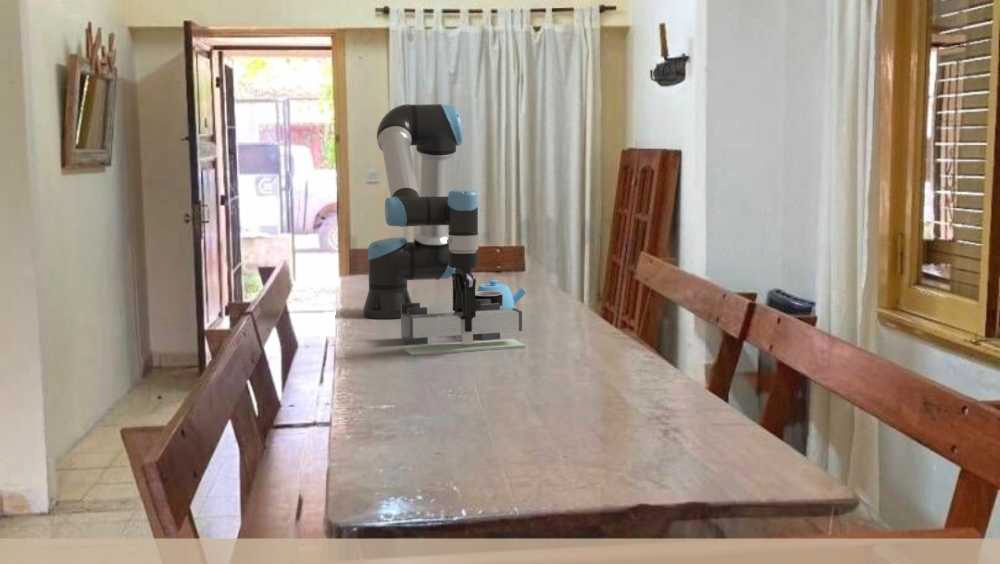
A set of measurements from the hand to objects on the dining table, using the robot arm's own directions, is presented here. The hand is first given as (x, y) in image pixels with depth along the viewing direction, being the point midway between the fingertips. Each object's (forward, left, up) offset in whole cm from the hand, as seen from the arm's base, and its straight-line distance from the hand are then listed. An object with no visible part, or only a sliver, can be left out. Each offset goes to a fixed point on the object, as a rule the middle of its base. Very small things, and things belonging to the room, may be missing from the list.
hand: (464, 341), depth 257 cm
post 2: (-13, +10, -2) cm, 17 cm away
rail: (0, 0, +2) cm, 2 cm away
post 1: (-13, -10, -2) cm, 17 cm away
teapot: (-40, +21, -2) cm, 45 cm away
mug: (-25, +14, -2) cm, 29 cm away
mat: (0, 0, -2) cm, 2 cm away
